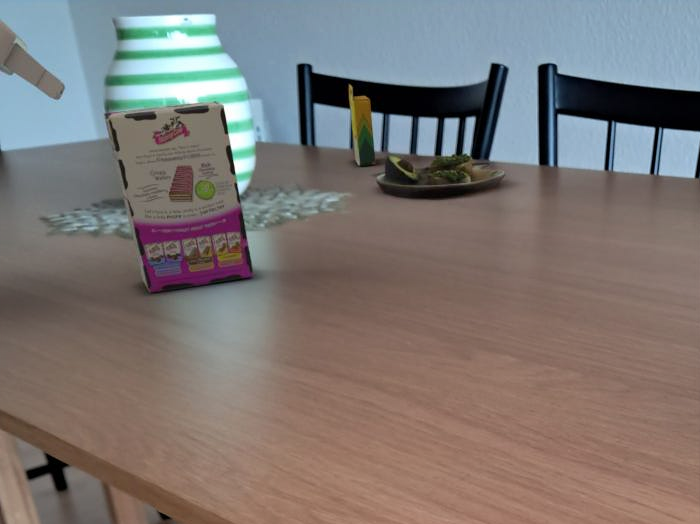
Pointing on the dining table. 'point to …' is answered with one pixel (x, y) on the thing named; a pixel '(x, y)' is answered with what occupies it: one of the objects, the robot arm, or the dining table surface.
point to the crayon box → (362, 129)
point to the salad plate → (436, 177)
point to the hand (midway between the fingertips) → (61, 93)
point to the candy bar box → (181, 194)
